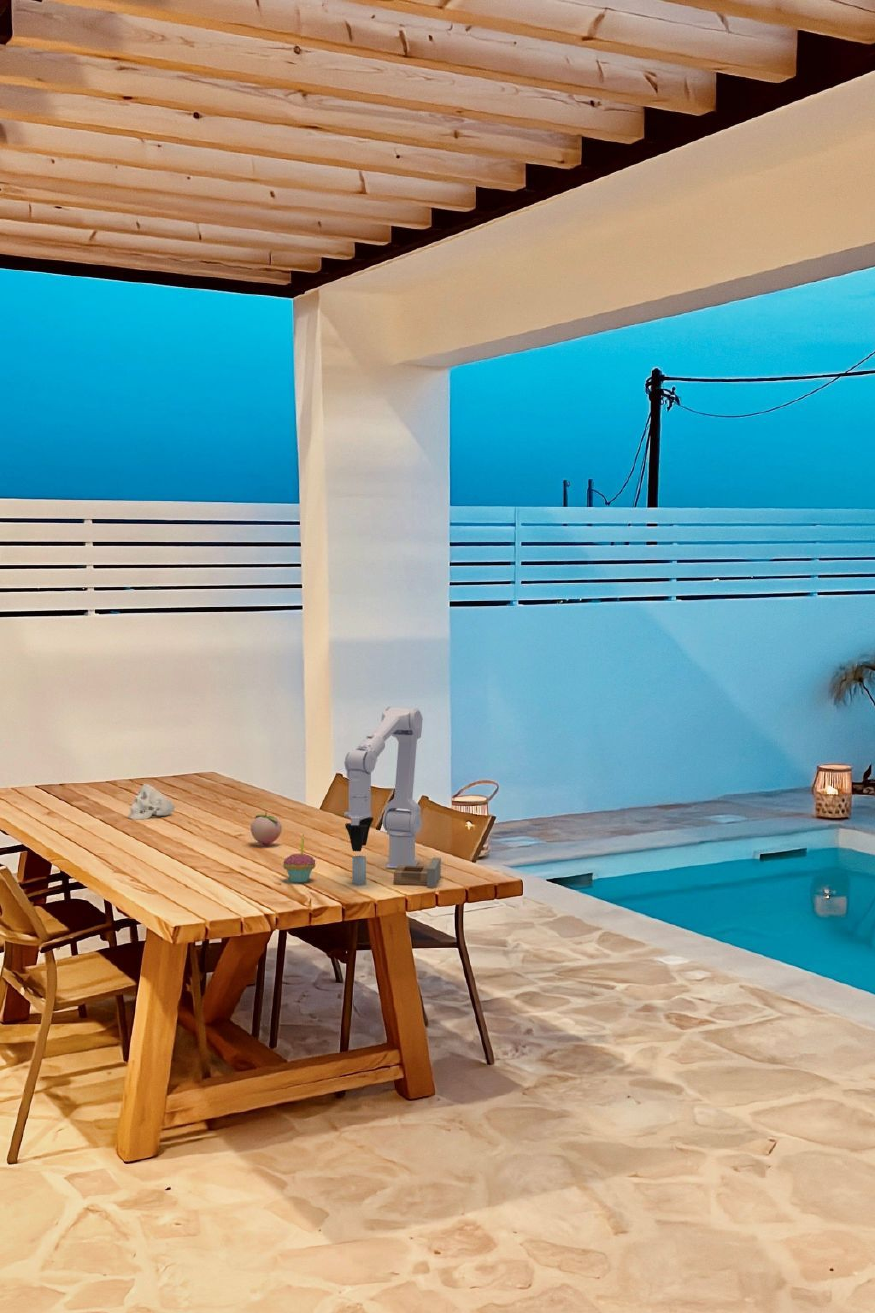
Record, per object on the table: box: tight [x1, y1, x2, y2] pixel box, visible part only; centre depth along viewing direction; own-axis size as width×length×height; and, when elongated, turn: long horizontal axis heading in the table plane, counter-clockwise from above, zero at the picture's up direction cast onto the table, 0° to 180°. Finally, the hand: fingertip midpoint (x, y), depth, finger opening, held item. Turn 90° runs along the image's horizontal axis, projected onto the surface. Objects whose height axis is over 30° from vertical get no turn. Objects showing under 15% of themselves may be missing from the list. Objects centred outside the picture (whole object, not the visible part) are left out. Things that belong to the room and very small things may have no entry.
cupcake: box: [282, 834, 316, 884], centre depth 347 cm, size 9×8×12 cm
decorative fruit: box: [250, 812, 283, 846], centre depth 393 cm, size 9×8×10 cm
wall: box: [426, 857, 442, 889], centre depth 347 cm, size 14×2×5 cm, turn 174°
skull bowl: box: [128, 783, 176, 821], centre depth 440 cm, size 10×14×12 cm
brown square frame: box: [393, 865, 429, 886], centre depth 348 cm, size 9×9×3 cm
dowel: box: [351, 855, 367, 886], centre depth 344 cm, size 4×4×7 cm
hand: (359, 848), depth 344 cm, fingers open, 7 cm apart
